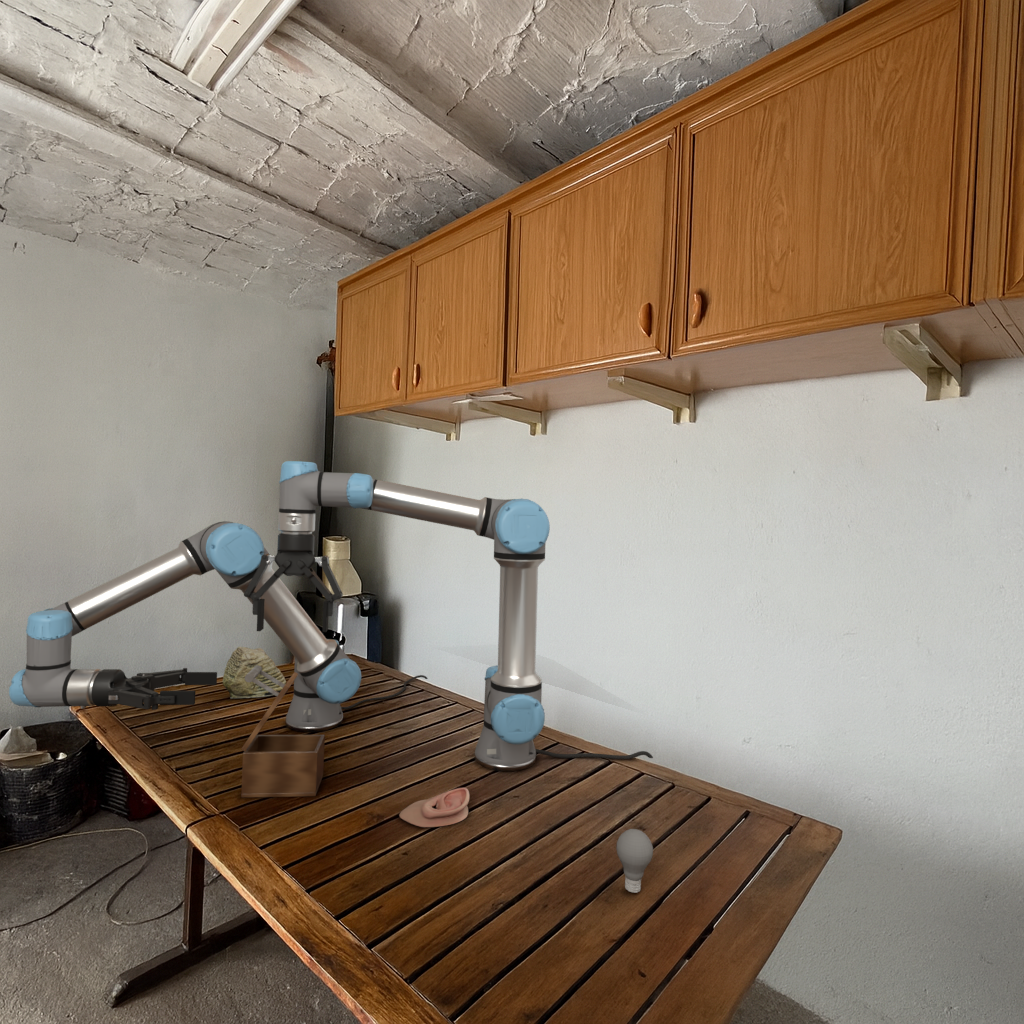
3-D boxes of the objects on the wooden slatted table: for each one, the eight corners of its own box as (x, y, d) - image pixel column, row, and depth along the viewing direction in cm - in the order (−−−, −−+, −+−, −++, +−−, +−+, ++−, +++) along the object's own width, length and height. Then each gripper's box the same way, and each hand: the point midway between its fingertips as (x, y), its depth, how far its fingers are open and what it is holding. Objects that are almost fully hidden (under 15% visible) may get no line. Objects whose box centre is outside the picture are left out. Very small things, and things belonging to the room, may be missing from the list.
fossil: (218, 695, 195) (220, 647, 195) (278, 685, 208) (279, 640, 207) (228, 703, 189) (230, 653, 188) (289, 692, 201) (290, 645, 201)
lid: (298, 674, 143) (264, 653, 142) (289, 687, 133) (252, 665, 132) (257, 733, 142) (223, 713, 141) (245, 751, 132) (207, 729, 131)
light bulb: (610, 879, 108) (613, 822, 108) (644, 879, 109) (647, 822, 109) (619, 902, 102) (622, 840, 102) (655, 901, 103) (658, 840, 103)
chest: (323, 775, 144) (324, 734, 144) (315, 796, 134) (317, 752, 134) (254, 776, 142) (255, 734, 142) (241, 797, 132) (242, 753, 132)
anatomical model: (393, 802, 124) (414, 778, 135) (393, 823, 124) (413, 796, 135) (459, 812, 121) (474, 786, 132) (458, 833, 121) (473, 805, 133)
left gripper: (126, 687, 145) (223, 687, 148) (64, 727, 120) (183, 726, 123) (127, 654, 145) (224, 655, 147) (65, 687, 120) (184, 687, 123)
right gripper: (230, 531, 132) (227, 633, 132) (353, 535, 135) (349, 634, 135) (241, 529, 139) (237, 626, 139) (357, 533, 142) (353, 627, 143)
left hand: (206, 687), depth 135 cm, fingers open, 13 cm apart
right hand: (292, 630), depth 137 cm, fingers open, 13 cm apart
